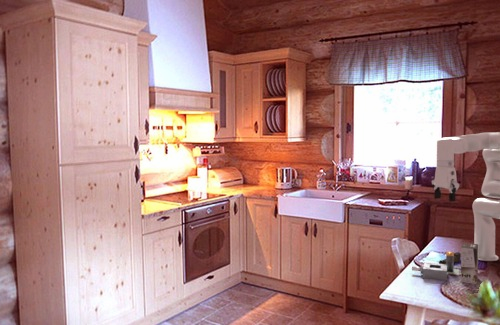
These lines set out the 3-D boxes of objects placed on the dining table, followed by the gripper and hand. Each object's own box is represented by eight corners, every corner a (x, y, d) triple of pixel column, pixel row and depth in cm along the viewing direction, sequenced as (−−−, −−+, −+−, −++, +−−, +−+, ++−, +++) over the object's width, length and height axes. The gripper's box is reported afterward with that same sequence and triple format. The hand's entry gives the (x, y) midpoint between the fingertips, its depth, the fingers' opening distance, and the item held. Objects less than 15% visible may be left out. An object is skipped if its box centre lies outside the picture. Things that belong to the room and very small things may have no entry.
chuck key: (446, 269, 204) (446, 251, 204) (453, 270, 203) (453, 252, 202) (446, 271, 202) (446, 253, 201) (453, 272, 200) (453, 253, 200)
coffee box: (476, 285, 185) (477, 248, 184) (460, 282, 188) (460, 247, 187) (478, 278, 192) (478, 243, 191) (462, 276, 196) (462, 242, 195)
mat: (441, 268, 208) (441, 267, 208) (459, 270, 204) (459, 269, 204) (440, 273, 201) (440, 272, 201) (459, 275, 197) (459, 274, 197)
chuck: (413, 271, 205) (413, 261, 205) (447, 274, 198) (447, 264, 198) (411, 277, 196) (411, 267, 196) (446, 281, 189) (446, 271, 189)
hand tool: (446, 269, 207) (446, 260, 207) (438, 267, 210) (438, 258, 210) (465, 261, 218) (465, 252, 218) (457, 259, 221) (457, 251, 221)
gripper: (465, 165, 194) (464, 202, 195) (439, 163, 211) (438, 197, 212) (452, 165, 192) (451, 202, 193) (426, 163, 209) (425, 197, 210)
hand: (444, 199), depth 203 cm, fingers open, 9 cm apart
